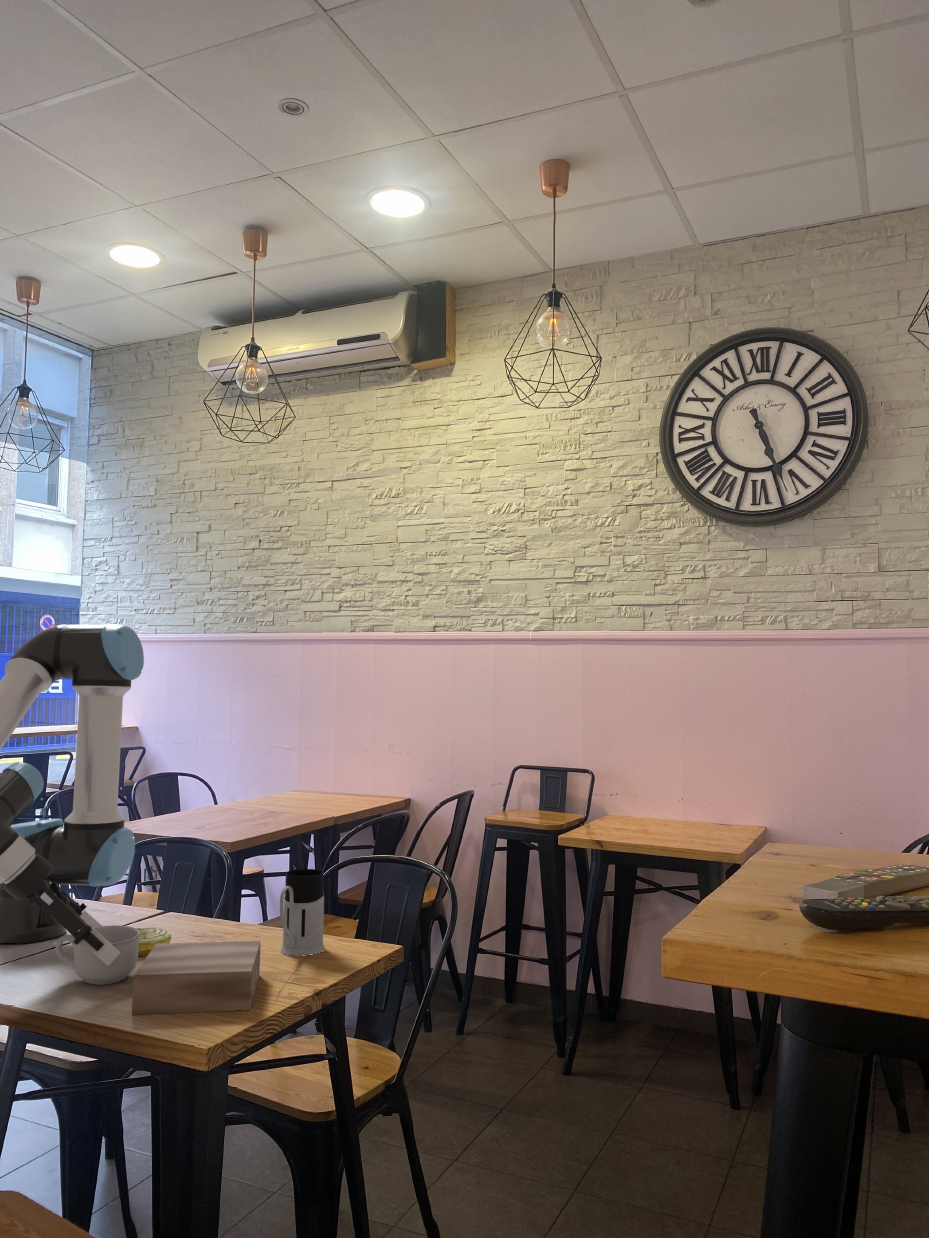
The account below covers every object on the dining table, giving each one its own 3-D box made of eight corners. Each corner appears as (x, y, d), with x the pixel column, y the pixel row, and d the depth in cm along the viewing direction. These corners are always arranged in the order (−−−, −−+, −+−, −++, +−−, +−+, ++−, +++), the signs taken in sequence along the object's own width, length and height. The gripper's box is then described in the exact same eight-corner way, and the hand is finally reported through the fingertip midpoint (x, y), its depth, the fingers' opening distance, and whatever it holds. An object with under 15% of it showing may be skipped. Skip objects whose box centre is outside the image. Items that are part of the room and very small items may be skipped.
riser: (154, 978, 154) (156, 943, 155) (259, 975, 157) (260, 940, 158) (131, 1014, 137) (133, 974, 137) (250, 1009, 139) (251, 970, 140)
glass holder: (332, 946, 176) (334, 869, 178) (300, 966, 163) (303, 883, 164) (292, 942, 179) (294, 867, 180) (258, 961, 165) (260, 880, 167)
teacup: (148, 971, 159) (150, 926, 159) (119, 991, 148) (121, 942, 149) (75, 968, 160) (77, 923, 161) (41, 987, 149) (43, 939, 150)
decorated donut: (165, 941, 179) (166, 922, 180) (174, 954, 170) (175, 934, 170) (111, 947, 175) (112, 927, 175) (116, 961, 165) (117, 940, 166)
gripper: (0, 873, 159) (85, 948, 165) (1, 901, 137) (100, 986, 143) (34, 841, 162) (117, 916, 168) (41, 863, 140) (136, 949, 146)
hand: (109, 949), depth 155 cm, fingers open, 13 cm apart
